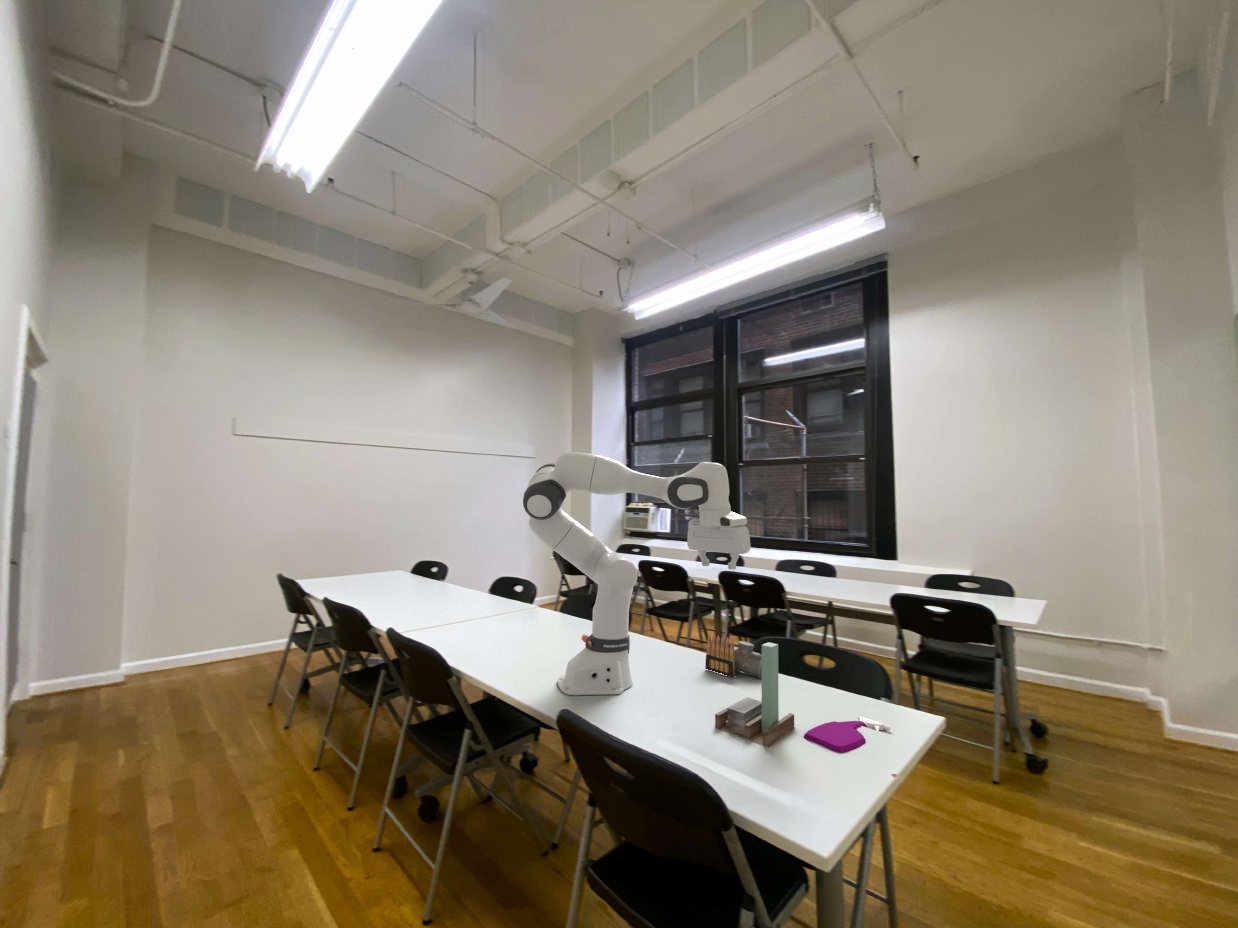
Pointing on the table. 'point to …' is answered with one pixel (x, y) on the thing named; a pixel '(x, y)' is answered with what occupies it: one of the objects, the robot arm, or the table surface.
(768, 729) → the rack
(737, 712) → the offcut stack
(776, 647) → the tall board
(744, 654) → the pipe fitting
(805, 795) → the table surface
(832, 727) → the spray bottle
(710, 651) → the ammunition clip
